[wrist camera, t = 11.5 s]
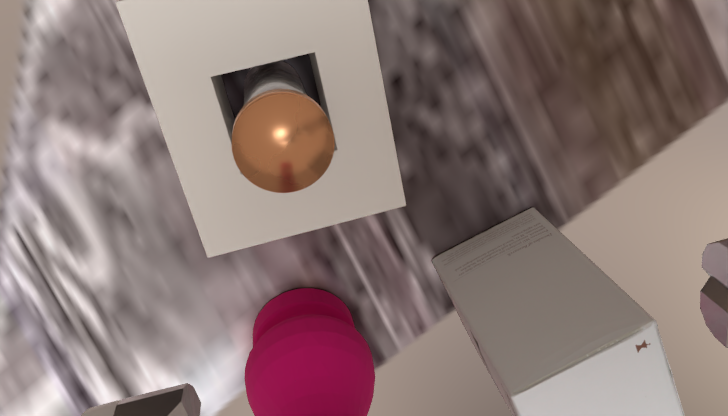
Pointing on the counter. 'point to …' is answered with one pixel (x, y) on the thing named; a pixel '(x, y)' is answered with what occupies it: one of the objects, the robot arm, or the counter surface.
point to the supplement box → (556, 325)
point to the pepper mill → (308, 358)
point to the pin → (280, 131)
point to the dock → (215, 119)
